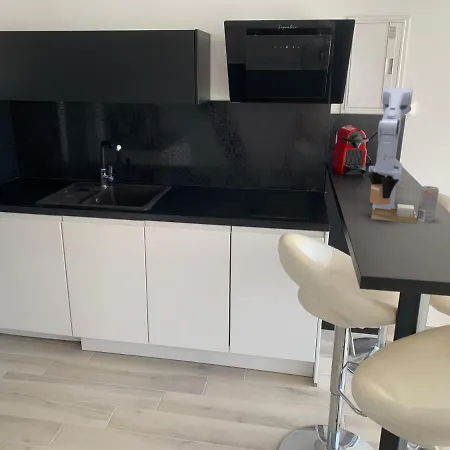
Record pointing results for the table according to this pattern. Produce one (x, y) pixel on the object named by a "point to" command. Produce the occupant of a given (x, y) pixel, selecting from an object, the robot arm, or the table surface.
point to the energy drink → (428, 204)
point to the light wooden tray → (392, 215)
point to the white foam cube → (405, 210)
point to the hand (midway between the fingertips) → (381, 196)
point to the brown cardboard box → (378, 195)
